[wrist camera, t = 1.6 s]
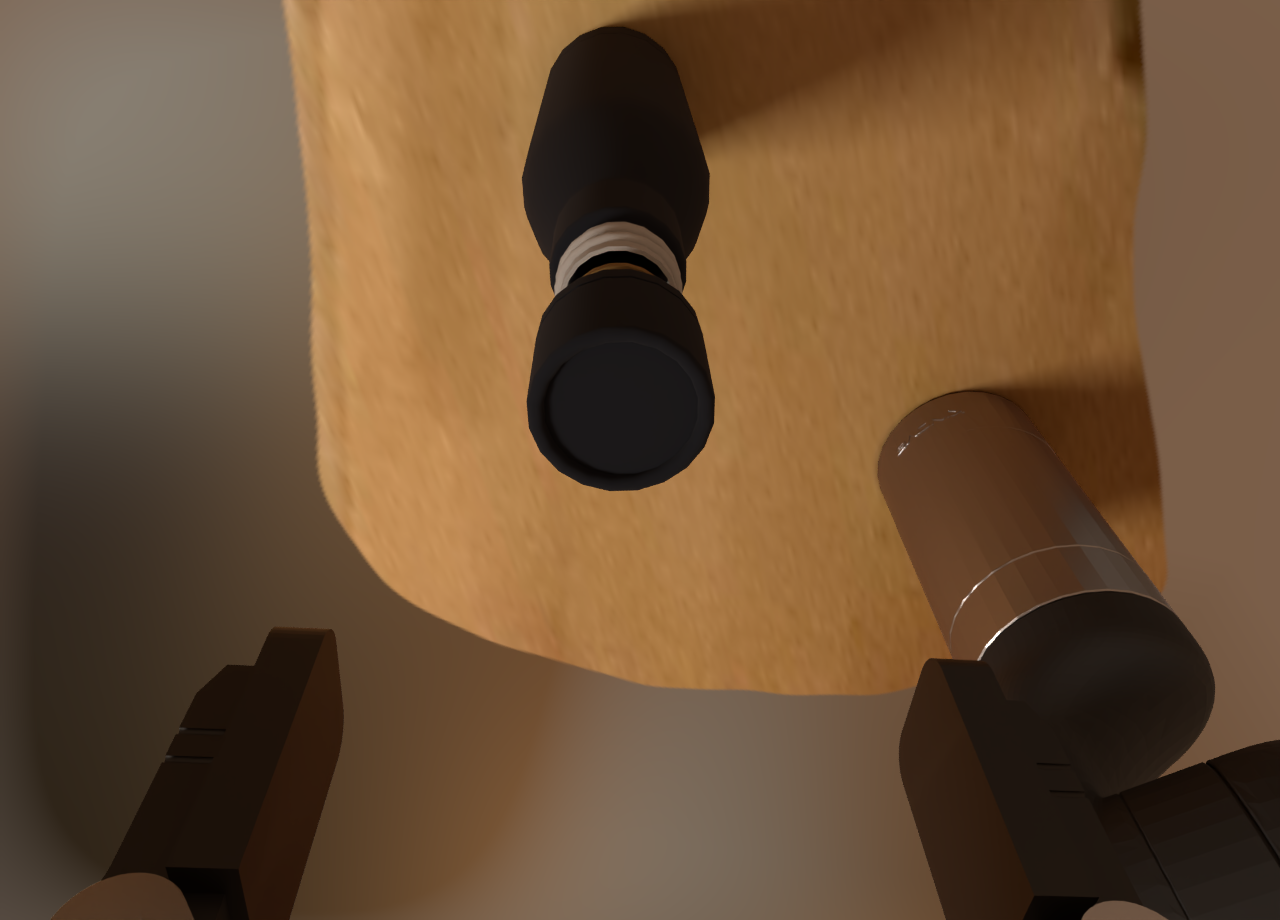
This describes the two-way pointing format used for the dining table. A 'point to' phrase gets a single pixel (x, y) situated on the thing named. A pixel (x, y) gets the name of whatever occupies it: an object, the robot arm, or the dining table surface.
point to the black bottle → (617, 266)
